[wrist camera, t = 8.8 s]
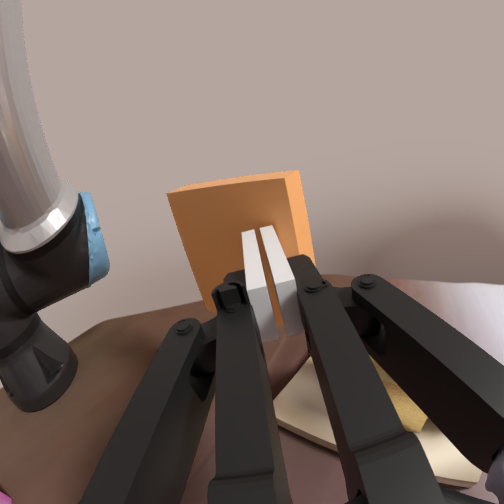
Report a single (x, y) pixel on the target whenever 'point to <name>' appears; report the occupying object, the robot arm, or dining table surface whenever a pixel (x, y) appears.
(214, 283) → the lever
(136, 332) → the dining table surface
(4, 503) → the gum box
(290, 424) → the mounting board
